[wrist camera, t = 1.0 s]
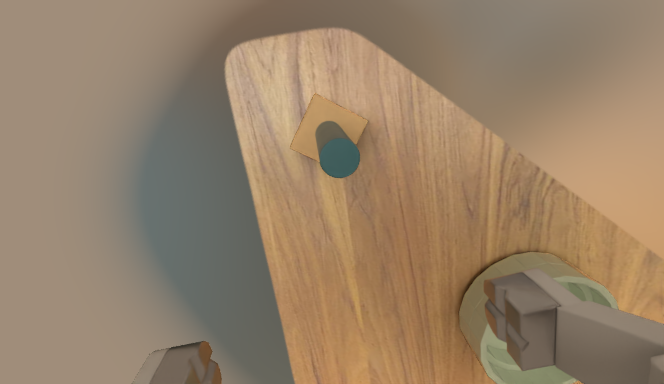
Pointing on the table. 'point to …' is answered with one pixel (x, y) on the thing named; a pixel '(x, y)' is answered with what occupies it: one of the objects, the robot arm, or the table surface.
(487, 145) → the table surface
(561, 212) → the table surface
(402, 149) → the table surface
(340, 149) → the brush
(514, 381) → the bowl
